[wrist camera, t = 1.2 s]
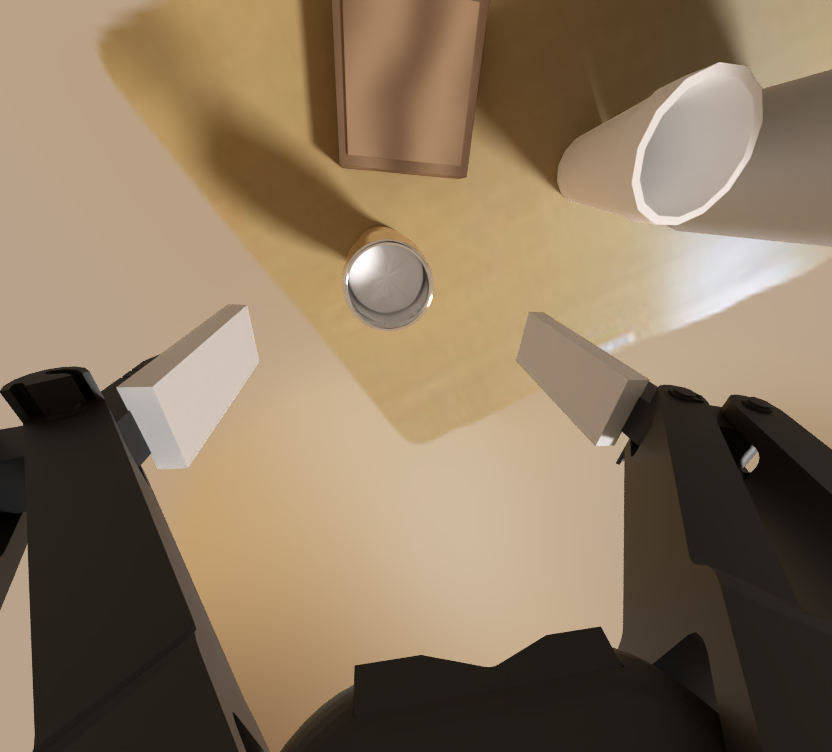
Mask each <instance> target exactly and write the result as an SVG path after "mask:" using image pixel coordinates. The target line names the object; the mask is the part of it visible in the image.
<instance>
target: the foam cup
mask: <svg viewBox="0 0 832 752" xmlns="http://www.w3.org/2000/svg"><path fill="white" fill-rule="evenodd" d="M762 123H763V106H762V87H761V86H760V84H759V83H758V81H757V80H756V79H755V77H754V76H753V74H752V73H751V71H750V70H749V68H748V67H747V66H743V65H736V64H729V63H722V62H718V63H716V64H713V65H711V66H708V67H706V68H703V69H701V70H698V71H695V72H693V73H690V74H688V75H685V76H683V77H681V78H679V79H677V80H675V81H673V82H671V83H669V84H667V85H665V86H663V87H661V88H659V89H657V90H656V91H655V92H654V93H653V94H652V95H651V96H650V97H649V98H647V99H645V100H644V101H642V102H640V103H638V104H636V105H635V106H633V107H631V108H629V109H627V110H626V111H624V112H622V113H620V114H618V115H617V116H615V117H613V118H611V119H610V120H608V121H606V122H604V123H602V124H601V125H599V126H597V127H595V128H593V129H592V130H590V131H588V132H586V133H585V134H583V135H581V136H579V137H578V138H576V139H575V140H574V141H573V142H572V143H571V144H570V145H569V147H568V148H567V149H566V150H565V151H564V153H563V156H562V158H561V161H560V163H559V166H558V174H557V184H558V186H559V189H560V192H561V195H563V196H564V197H565V198H567V199H568V200H569V201H572V202H574V203H577V204H580V205H584V206H587V207H591V208H594V209H598V210H601V211H605V212H608V213H612V214H615V215H619V216H622V217H625V218H628V219H629V220H630V221H631V222H635V223H646V224H661V225H679V224H681V223H683V222H686V221H688V220H690V219H692V218H695V217H697V216H699V215H701V214H703V213H705V212H706V211H707V210H708V209H709V208H710V207H711V206H712V205H713V204H714V203H716V202H717V201H718V200H719V199H720V198H721V197H722V196H723V195H724V194H726V193H727V192H728V191H729V190H730V188H731V187H732V185H733V184H734V182H735V181H736V179H737V178H738V176H739V175H740V173H741V172H742V170H743V169H744V167H745V166H746V164H747V163H748V161H749V159H750V158H751V155H752V152H753V149H754V146H755V143H756V140H757V137H758V134H759V131H760V128H761V125H762Z"/></svg>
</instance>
